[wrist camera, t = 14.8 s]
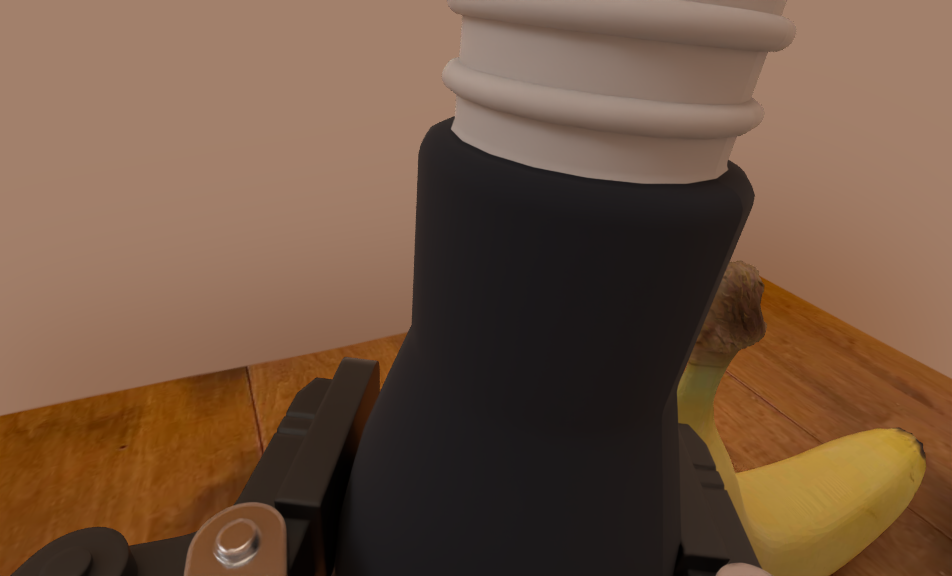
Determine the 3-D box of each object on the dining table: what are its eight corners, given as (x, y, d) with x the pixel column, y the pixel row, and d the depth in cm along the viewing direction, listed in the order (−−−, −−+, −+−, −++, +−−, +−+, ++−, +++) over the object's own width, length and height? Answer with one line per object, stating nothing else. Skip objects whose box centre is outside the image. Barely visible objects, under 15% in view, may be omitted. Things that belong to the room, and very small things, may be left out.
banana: (811, 472, 32) (1013, 189, 22) (903, 553, 28) (1210, 245, 18) (512, 589, 24) (610, 219, 14) (574, 732, 19) (791, 342, 9)
